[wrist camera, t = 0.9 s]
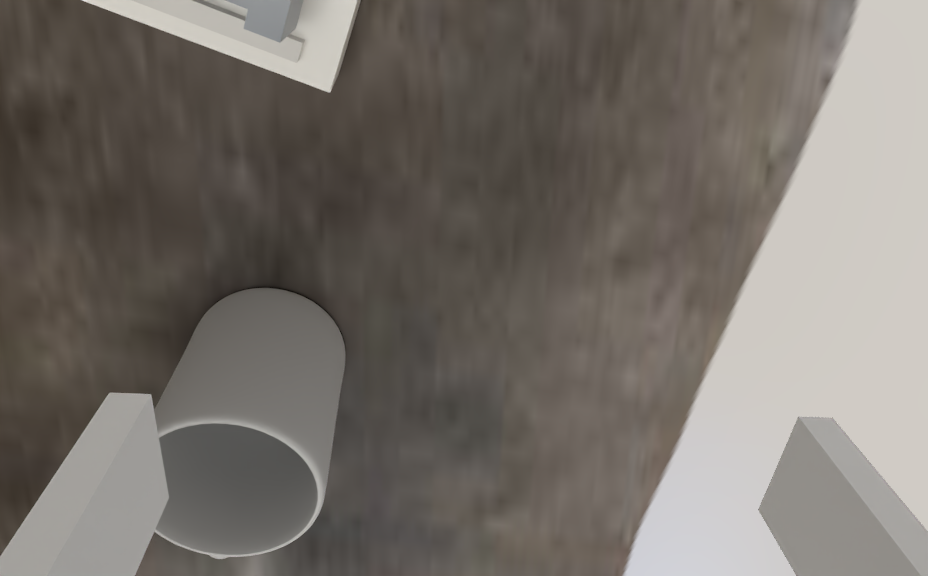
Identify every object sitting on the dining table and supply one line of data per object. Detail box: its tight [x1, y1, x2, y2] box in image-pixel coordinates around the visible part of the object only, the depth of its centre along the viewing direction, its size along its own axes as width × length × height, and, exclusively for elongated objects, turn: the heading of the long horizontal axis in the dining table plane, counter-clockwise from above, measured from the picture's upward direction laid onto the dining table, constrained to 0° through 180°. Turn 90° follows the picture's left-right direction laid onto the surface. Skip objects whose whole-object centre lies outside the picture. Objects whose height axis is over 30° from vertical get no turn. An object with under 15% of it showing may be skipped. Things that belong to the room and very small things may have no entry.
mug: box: [154, 288, 346, 559], centre depth 34 cm, size 12×8×11 cm
